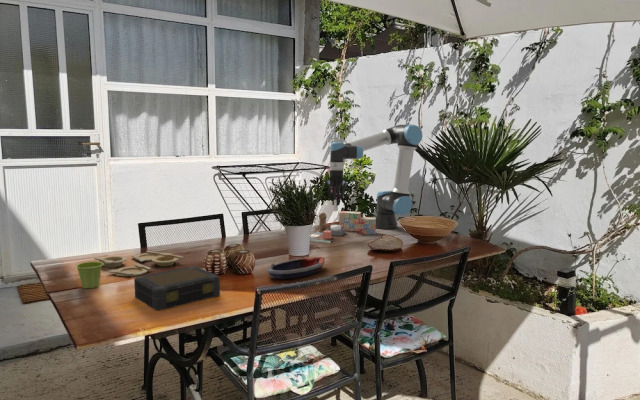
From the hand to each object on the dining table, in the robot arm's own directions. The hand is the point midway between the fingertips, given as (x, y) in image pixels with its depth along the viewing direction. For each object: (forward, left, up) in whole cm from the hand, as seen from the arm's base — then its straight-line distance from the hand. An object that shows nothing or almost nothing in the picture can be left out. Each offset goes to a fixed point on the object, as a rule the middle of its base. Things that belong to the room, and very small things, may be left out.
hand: (335, 210), depth 283 cm
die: (0, +12, -14) cm, 18 cm away
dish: (-12, +75, -15) cm, 77 cm away
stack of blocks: (-8, -16, -15) cm, 24 cm away
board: (+4, +6, -15) cm, 17 cm away
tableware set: (+58, +93, -16) cm, 111 cm away
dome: (0, 0, -12) cm, 12 cm away
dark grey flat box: (+16, +120, -16) cm, 122 cm away
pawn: (+9, -3, -14) cm, 17 cm away
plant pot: (+53, +125, -15) cm, 137 cm away
